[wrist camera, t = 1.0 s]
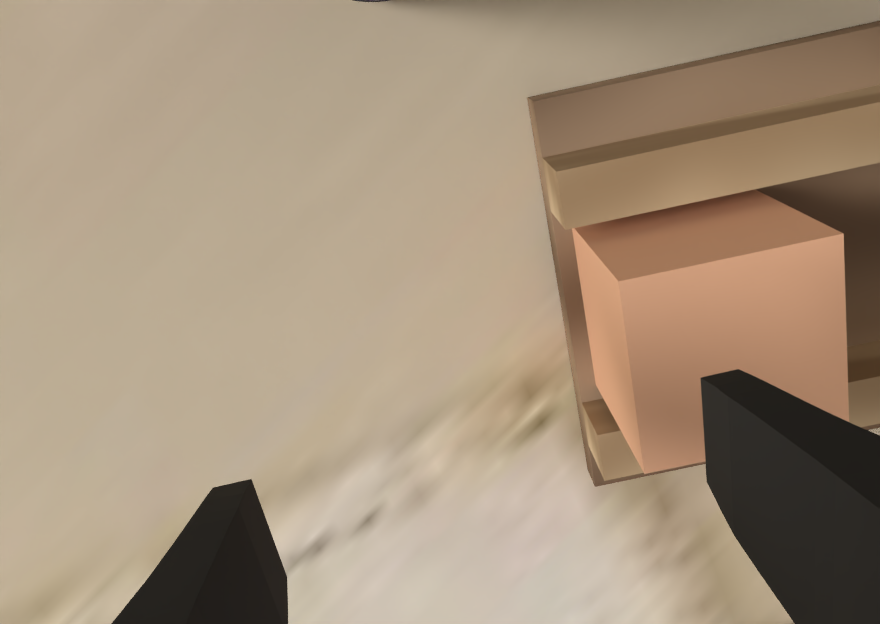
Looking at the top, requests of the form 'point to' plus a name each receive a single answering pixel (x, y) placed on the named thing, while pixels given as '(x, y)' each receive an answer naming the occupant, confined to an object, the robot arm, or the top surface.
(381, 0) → the beverage can
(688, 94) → the chute
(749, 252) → the block
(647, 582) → the top surface
